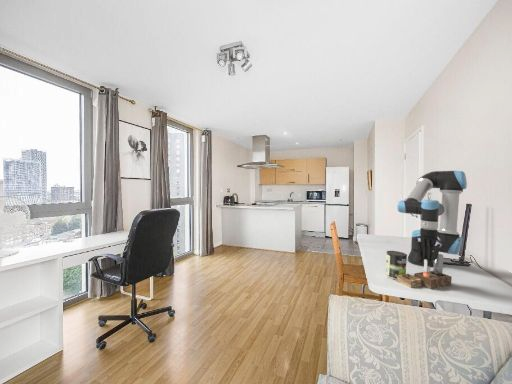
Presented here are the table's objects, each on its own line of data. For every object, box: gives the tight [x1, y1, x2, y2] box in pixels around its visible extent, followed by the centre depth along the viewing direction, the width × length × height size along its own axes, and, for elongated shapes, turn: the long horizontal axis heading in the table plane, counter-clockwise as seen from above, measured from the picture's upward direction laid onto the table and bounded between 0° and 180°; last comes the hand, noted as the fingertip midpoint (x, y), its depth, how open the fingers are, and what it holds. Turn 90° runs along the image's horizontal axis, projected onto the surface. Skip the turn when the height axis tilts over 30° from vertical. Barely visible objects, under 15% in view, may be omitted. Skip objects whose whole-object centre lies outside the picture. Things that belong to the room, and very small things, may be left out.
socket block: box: [413, 270, 453, 290], centre depth 125 cm, size 16×9×5 cm, turn 109°
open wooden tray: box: [396, 273, 422, 288], centre depth 125 cm, size 8×8×4 cm
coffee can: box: [385, 250, 408, 281], centre depth 134 cm, size 10×10×14 cm
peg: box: [432, 253, 444, 277], centre depth 126 cm, size 4×4×16 cm
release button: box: [422, 271, 430, 278], centre depth 123 cm, size 3×3×5 cm
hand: (426, 271), depth 124 cm, fingers closed
